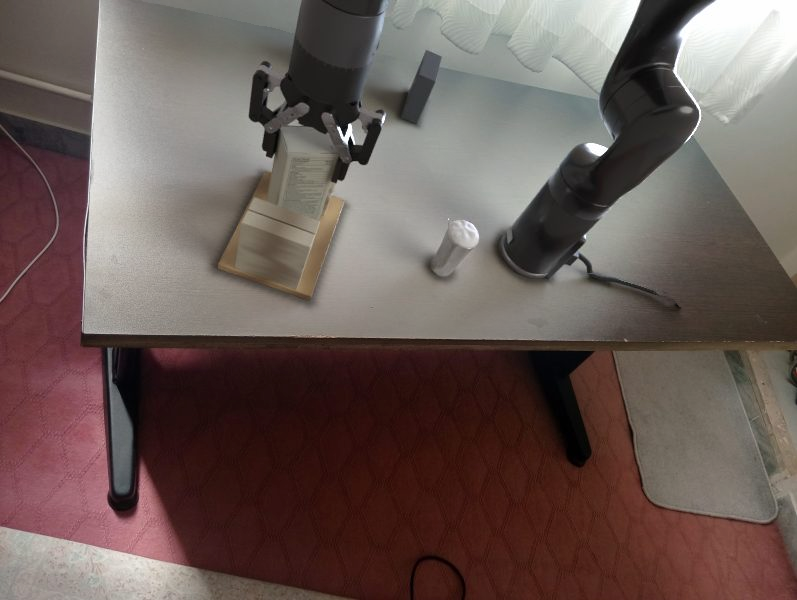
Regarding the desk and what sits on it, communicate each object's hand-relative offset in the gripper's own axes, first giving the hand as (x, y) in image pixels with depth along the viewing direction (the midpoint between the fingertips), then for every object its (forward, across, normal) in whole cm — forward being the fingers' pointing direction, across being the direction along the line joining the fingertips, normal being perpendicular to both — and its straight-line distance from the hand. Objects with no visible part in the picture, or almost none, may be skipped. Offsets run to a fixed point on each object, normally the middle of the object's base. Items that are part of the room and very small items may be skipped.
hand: (303, 165), depth 63 cm
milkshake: (+13, +22, +4) cm, 26 cm away
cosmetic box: (+8, 0, 0) cm, 8 cm away
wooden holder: (+13, 0, 0) cm, 13 cm away
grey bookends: (+13, +4, +38) cm, 40 cm away
